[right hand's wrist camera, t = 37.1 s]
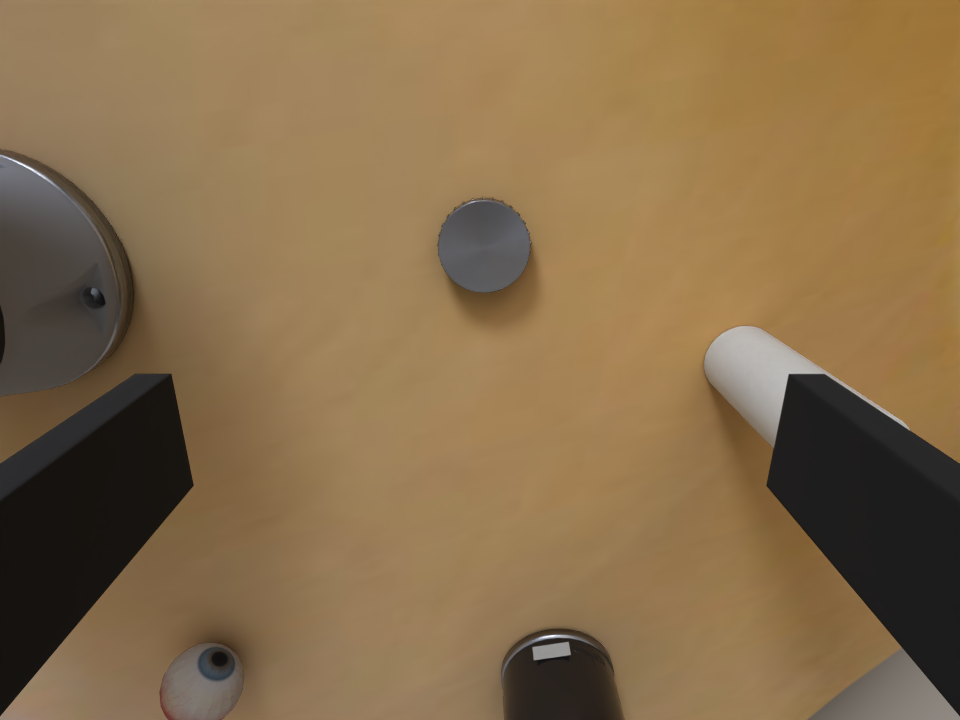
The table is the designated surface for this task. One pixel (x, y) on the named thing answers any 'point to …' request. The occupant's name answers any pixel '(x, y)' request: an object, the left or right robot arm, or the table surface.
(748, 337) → the bottle
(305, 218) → the table surface
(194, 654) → the eyeball
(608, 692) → the left robot arm
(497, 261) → the lid
